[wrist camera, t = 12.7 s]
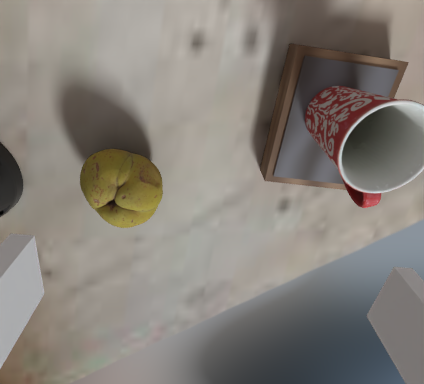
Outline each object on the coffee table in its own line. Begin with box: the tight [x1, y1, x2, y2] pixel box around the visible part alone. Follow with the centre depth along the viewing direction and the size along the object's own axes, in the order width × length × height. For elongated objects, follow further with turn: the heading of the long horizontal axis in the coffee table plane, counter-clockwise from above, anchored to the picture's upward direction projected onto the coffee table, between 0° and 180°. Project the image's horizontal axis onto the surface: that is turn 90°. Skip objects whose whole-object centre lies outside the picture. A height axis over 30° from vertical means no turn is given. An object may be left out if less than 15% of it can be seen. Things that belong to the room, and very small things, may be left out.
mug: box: [305, 86, 424, 208], centre depth 34 cm, size 13×9×14 cm
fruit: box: [80, 149, 163, 228], centre depth 43 cm, size 11×12×10 cm
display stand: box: [260, 44, 409, 190], centre depth 42 cm, size 14×18×4 cm
